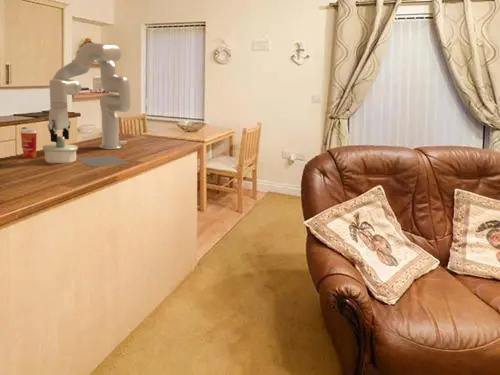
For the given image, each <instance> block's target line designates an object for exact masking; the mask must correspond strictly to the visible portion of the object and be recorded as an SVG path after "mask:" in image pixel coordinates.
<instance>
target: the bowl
mask: <svg viewBox="0 0 500 375" xmlns="http://www.w3.org/2000/svg"><path fill="white" fill-rule="evenodd" d="M43 152H44V159H45V160H44V161H45V162H46V163H49V164H57V163H58V164H64V163H66V164H67V163H72V162H73V163H74V162H75V161H76V160H77V159H76V158H77V150H76V151H71V152H51V151H45V150H43Z"/></svg>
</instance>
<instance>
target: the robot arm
mask: <svg viewBox="0 0 500 375" xmlns="http://www.w3.org/2000/svg"><path fill="white" fill-rule="evenodd" d="M121 57H122V51H121V48H120V47H119V46H118V45H115V44H106V43H105V44H104V43H96V42H95V43H94V42H86V43H84V44H83V45H81V47H80V50H79V51H78V53H77V54H76V55H75V57H74V59H73V61H71V62H69V63H68V64H66V65H64V66H63V67H61V68H60V69H59V70H57V71H56V73H55V74H54V76H53V77H52V79H50V81H49V103H50V104H49V105H50V106H49V112H48V124H47V128H48V131H49V134H50V142H51V143H56V142H57V136H58V134H57V132H58V130H62V131H61V132H62V135H61V136H63V137H65V140H69V139H70V129H71V125H72V124H71V121H69V113H68V112H69V111H68V95H69V96H76V95H79V94H80V92H81V91H82V85H81V83H80V82H79V81H78V80H76V79H73V78H74V77H78V76H81V75H82V76H83V75H84V74H85V75H86V74H87V73H88V72H89V70H90V69H91V67H92V66H93V64H94V62H95V61H96V62H97V63H98V65H99V69H100V80H101V81H100V84H101V88H102V90H103V91H104V92H108V93H105V94H102V95H101V96H100V99H99V105H100V109H101V110H100V112H101V137H102V138H101V144H99V148H100V149H105V150H119V149H121V148H122V145H127V140H120V139H119V138H120V135H119V134H120V132H119V131H120V129H119V127H120V126H119V125H120V123H119V122H120V121H119V118H120V117H119V116H118V114H117V112H120V113H121V112H122V113H127V112H128V111H130V108H131V86H130V82H129V79H128V78H127V77H125V76H122V75H118V74H117V68H116V64H115V62H118V61H119V60H120V59H121ZM111 93H117V94H111Z"/></svg>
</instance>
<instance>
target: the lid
mask: <svg viewBox="0 0 500 375" xmlns="http://www.w3.org/2000/svg"><path fill="white" fill-rule="evenodd" d="M65 140H66V139H65V137H63V135H61V136H58V135H57V142H55V143H52V144H46V145H43V146H42V150H43V151H44V150H45V151H51V152H71V151H76V152H77V151H78V148H79V147H78V146H77V145H74V144H67V143H66V142H65Z"/></svg>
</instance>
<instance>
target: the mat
mask: <svg viewBox="0 0 500 375" xmlns="http://www.w3.org/2000/svg"><path fill="white" fill-rule="evenodd" d="M76 160H79V161H80V162H81V163H83V164H85V165H87V166H89V167H91V168H92V167H103V166H105V167H106V166H114V165H117V166H118V165H129V164H130V163H129V162H127V161H125V160H124V159H121V158H119V157H116V156H115V155H109V156H108V155H107V156H94V157H92V156H91V157H76Z"/></svg>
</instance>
